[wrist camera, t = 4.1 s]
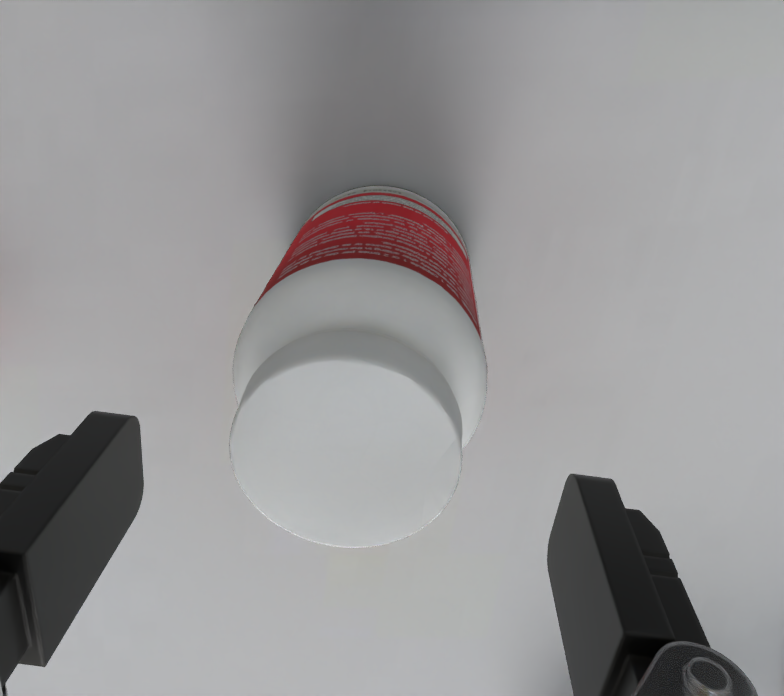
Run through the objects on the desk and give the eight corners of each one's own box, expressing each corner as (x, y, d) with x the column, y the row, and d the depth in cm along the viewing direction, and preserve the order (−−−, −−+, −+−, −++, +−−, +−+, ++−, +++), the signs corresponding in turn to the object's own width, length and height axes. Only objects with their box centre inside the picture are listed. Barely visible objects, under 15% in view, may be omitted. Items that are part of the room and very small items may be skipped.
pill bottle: (272, 200, 22) (144, 346, 12) (455, 165, 21) (477, 292, 11) (317, 363, 25) (242, 592, 15) (481, 337, 24) (518, 561, 14)
